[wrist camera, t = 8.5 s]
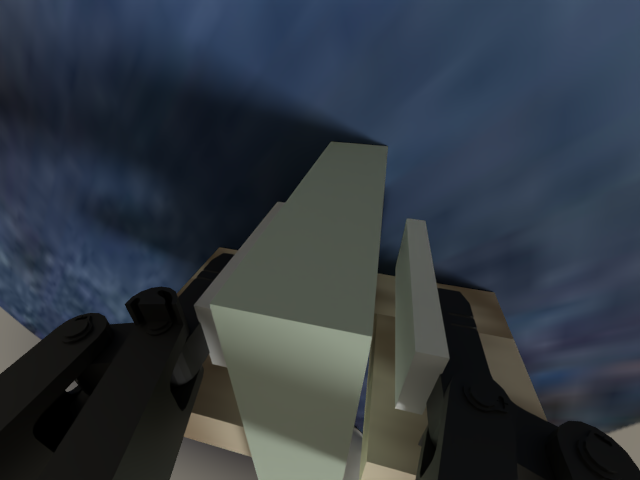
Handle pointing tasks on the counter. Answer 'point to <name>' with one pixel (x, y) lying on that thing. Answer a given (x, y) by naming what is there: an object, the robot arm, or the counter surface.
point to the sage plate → (307, 317)
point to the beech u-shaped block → (373, 388)
